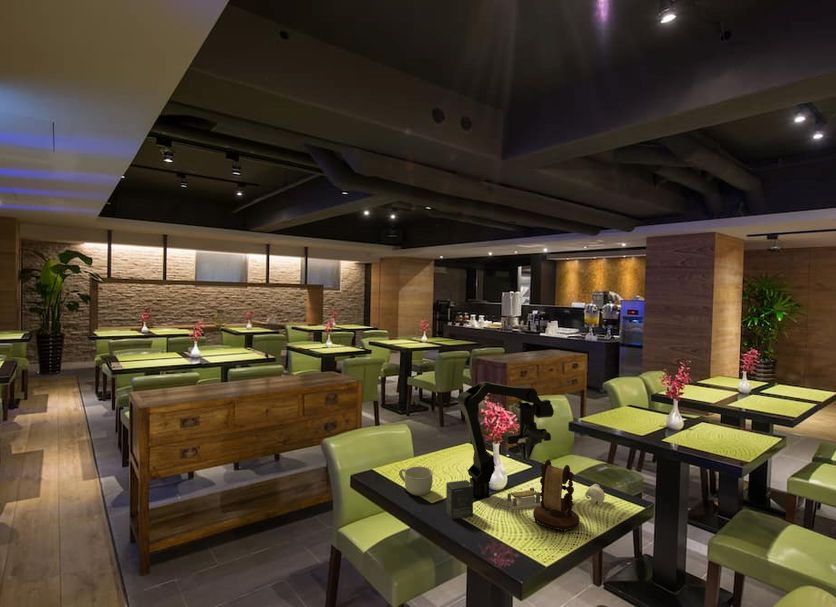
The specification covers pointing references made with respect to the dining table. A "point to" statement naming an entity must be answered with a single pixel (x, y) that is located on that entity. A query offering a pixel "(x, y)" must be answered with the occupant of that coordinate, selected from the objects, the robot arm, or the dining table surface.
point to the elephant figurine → (595, 494)
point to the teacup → (417, 480)
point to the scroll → (556, 499)
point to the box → (459, 499)
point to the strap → (523, 493)
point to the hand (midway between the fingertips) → (526, 458)
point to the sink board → (524, 501)
